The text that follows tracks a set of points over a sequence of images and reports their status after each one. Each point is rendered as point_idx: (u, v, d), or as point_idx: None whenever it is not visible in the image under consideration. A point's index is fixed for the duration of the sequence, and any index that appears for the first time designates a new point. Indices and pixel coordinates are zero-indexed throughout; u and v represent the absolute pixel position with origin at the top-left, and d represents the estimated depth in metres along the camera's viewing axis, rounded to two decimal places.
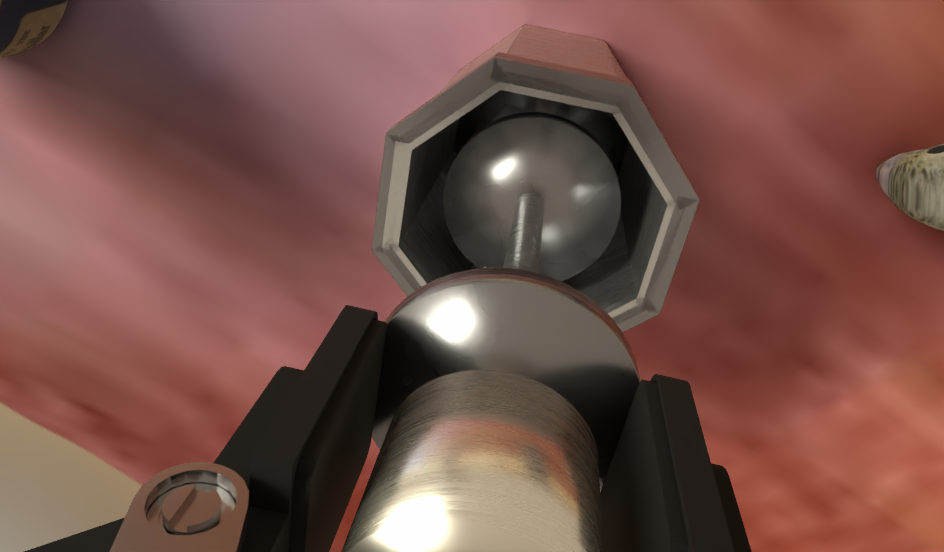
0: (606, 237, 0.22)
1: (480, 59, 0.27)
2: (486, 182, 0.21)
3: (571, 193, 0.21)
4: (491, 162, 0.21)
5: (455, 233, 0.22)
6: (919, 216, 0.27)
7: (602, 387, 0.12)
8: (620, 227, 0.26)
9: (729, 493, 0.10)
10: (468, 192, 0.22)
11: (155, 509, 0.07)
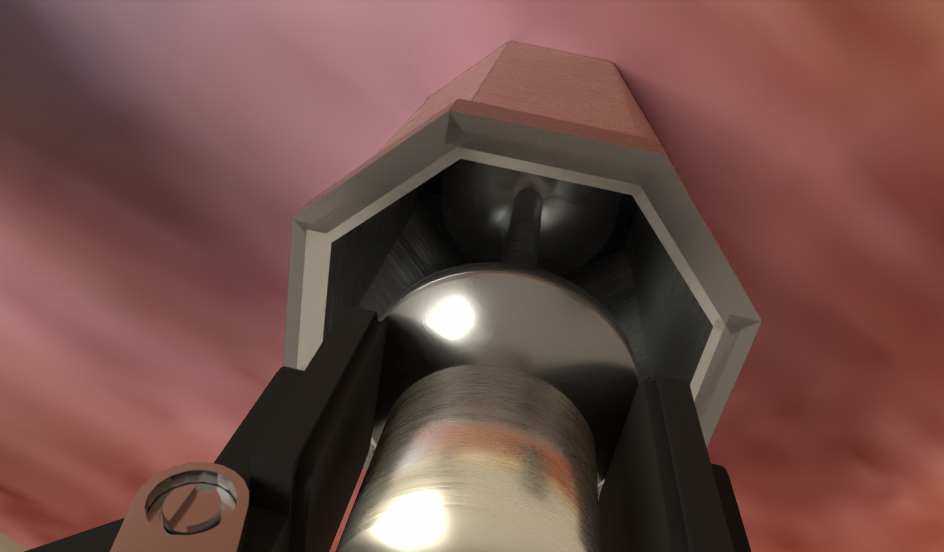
0: (604, 233, 0.22)
1: (450, 88, 0.21)
2: (484, 178, 0.21)
3: (569, 188, 0.21)
4: None
5: (453, 229, 0.22)
6: None
7: (600, 382, 0.12)
8: (634, 313, 0.20)
9: (729, 493, 0.10)
10: (466, 188, 0.21)
11: (155, 509, 0.07)
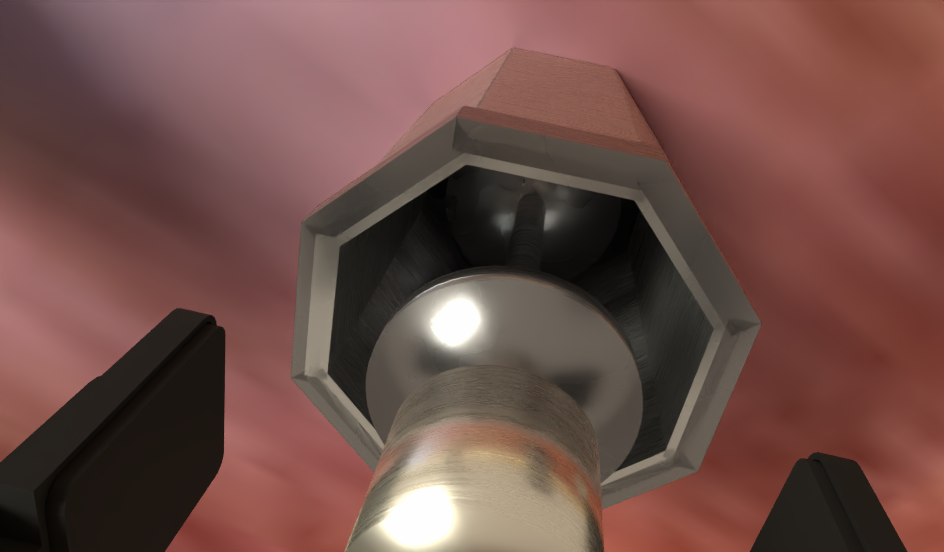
0: (607, 237, 0.22)
1: (454, 94, 0.21)
2: (488, 182, 0.22)
3: (572, 193, 0.21)
4: None
5: (457, 233, 0.22)
6: None
7: (603, 382, 0.12)
8: (636, 316, 0.20)
9: None
10: (470, 192, 0.22)
11: None
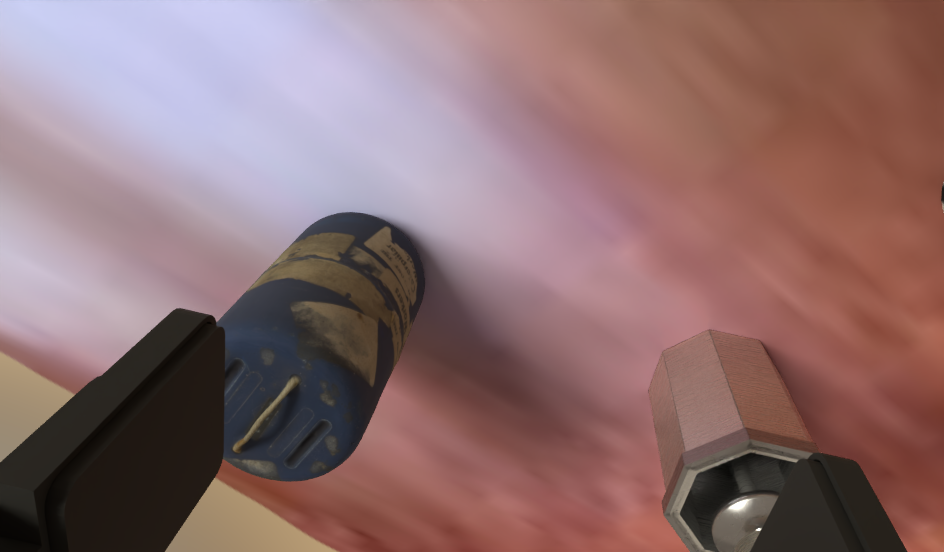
0: None
1: (689, 363, 0.45)
2: None
3: None
4: None
5: None
6: None
7: None
8: (778, 471, 0.43)
9: None
10: None
11: None
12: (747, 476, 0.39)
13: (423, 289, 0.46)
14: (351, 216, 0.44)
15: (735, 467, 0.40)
